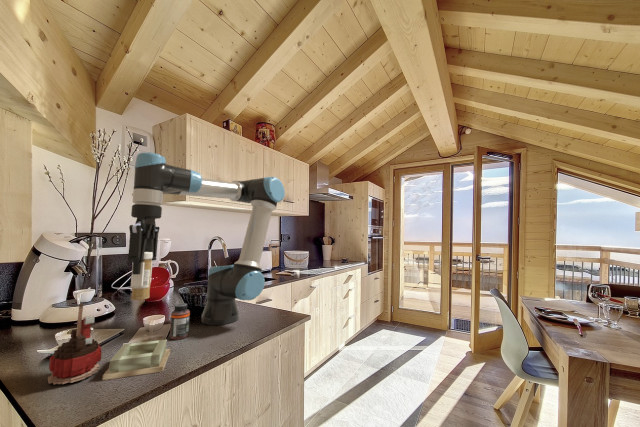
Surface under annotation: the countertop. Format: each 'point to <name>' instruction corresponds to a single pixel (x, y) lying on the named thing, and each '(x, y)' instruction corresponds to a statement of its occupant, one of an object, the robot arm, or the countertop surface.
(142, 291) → the sprinkles bottle
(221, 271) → the robot arm
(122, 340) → the countertop surface
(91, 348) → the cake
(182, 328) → the supplement bottle
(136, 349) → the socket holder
